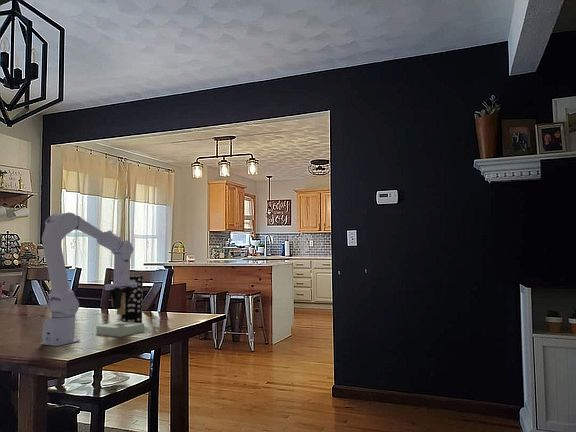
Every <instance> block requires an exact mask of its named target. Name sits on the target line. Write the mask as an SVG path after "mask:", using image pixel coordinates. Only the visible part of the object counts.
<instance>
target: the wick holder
mask: <svg viewBox="0 0 576 432" xmlns="http://www.w3.org/2000/svg"><path fill="white" fill-rule="evenodd" d="M142 332H145V322H144V323H143V322H142V323H133V322H122V320H121V321H116V322H115V321H114V322H110V323H107V324H106V323H105V324H100V325H96V332H95V333H96V335H101V336H109V337H117V338H119V337H120V338H121V337H125V336H130V335H134V334H139V333H142Z"/></svg>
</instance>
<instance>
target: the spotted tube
mask: <svg viewBox="0 0 576 432" xmlns="http://www.w3.org/2000/svg"><path fill="white" fill-rule="evenodd" d="M129 282H137V287H131V288H134V291H133V293H132V294H131V296H130V299H129V302H128V306H127V307H125V314H124V315H121V321H122V322H133V323H143V295H144V294H143V293H144V291H143V289H144V284H143V283H144V275H130V281H129ZM121 287H127V286H121ZM122 289H123V288H122Z"/></svg>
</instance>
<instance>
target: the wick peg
mask: <svg viewBox="0 0 576 432" xmlns="http://www.w3.org/2000/svg"><path fill="white" fill-rule="evenodd" d="M125 299H126V293H122V297H121V307H120V308H119V309H118V308H116V315H117V316H122V315H124V314H125Z"/></svg>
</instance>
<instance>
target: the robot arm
mask: <svg viewBox="0 0 576 432" xmlns="http://www.w3.org/2000/svg"><path fill="white" fill-rule="evenodd" d="M44 224H45V227H44V228H43V229H44V231H43V233H42V236H41V243H42V248H43V251H44V252H43V253H44V258H45V263H46V267H47V271H48V277H49V282H50V288H51V289H50V292H49V294H48V298H49V300H48V303H47V307H48V308H47V309H48V310H49V311H50V313H51V316H50V317H49V318H46V319H45V320H44V322H43V324H42V336H41V342H40V345H47V346H53V347H58V346H62V345H63V346H64V345H67V344H71V343H77V342H80V341H81V340H80V339H78V338H75V325H76V323H75V321H76V313H77V312H78V311H79V309H80V302H79V300H78V299H77V298H76V295H75V291H73V290H72V288H71V286H70V285H69V284H70V283H69V277H68V273H67V268H66V265H65V259H64V253H63V248H62V241H63V240H64V238H65V237H66V236H67V235H69V234H70V233H71V232H73V231H79V232H82V233H84V234H86V235H87V236H90V237H92V238H94V239H95V240H96V242H97V244H98V245H100V246H102V247H103V248H105V249H107V250H109V251H110V252H111V253H112V254H113V258H114V260H113V283H109V284H108V283H107V284H104V291H108V293H109V294H110V296H111V299H112V302H113V306H114V309H117V308H118V309H119V308H120V307H121V297H122V293H126V299H125V307H127V306H128V302H129V299H130V296H131V294H132V293H133V291H134V288H131V287H137V282H129V281H130V276H131V273H130V271H131V264H130V263H131V259H132V258H131V257H132V254H133V252H134V250H135V249H134V248H135V247H133V244H132V242H131V241H129V240H124V238H123V237H122V236H118V235H116V234H114V233H113V231H112V230H111V229H110V230H107V229H105V230H100V229H99V228H98V227H96V226H95V225H93V224H91V223H90V222H88V221H86V220H85V219H84V218H83V217H81V216H79V215H76V214H75V213H74V212H70V211H69V212H64V213H53V214H51V215H50V216H49V217H48V218H47V219H46V220H45V221H44ZM122 286H127V287H122ZM122 288H123V289H122Z"/></svg>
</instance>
